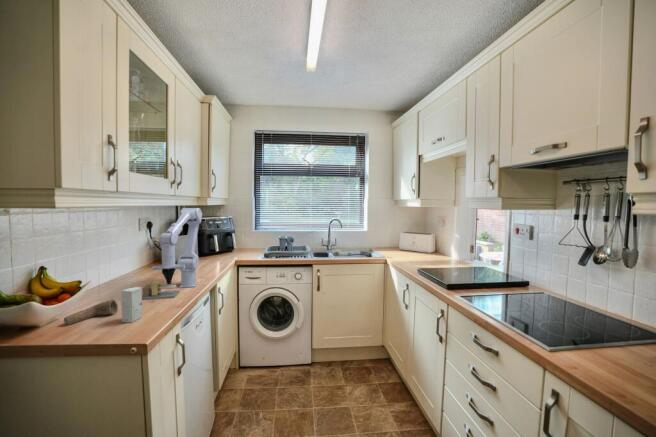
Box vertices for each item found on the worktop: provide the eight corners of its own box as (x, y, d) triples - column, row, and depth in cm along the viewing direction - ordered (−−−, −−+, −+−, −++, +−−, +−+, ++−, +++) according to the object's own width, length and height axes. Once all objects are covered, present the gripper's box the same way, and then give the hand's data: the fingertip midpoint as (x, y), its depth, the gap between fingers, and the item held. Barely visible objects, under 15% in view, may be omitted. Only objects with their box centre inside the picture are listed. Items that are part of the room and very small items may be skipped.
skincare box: (132, 322, 110) (131, 291, 110) (120, 322, 110) (120, 291, 110) (143, 316, 116) (142, 286, 116) (132, 316, 116) (131, 286, 116)
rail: (139, 300, 137) (139, 289, 137) (147, 294, 146) (146, 283, 146) (174, 297, 141) (174, 287, 140) (179, 291, 150) (179, 281, 150)
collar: (151, 295, 140) (151, 283, 140) (155, 292, 146) (155, 280, 145) (157, 295, 140) (157, 283, 140) (161, 291, 146) (160, 280, 146)
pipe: (58, 313, 107) (78, 311, 105) (102, 299, 123) (120, 296, 121) (60, 330, 107) (81, 328, 105) (104, 313, 123) (123, 312, 121)
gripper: (149, 258, 138) (150, 286, 139) (182, 257, 142) (183, 284, 142) (154, 256, 145) (154, 283, 145) (185, 255, 149) (186, 281, 149)
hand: (169, 283), depth 144 cm, fingers closed
